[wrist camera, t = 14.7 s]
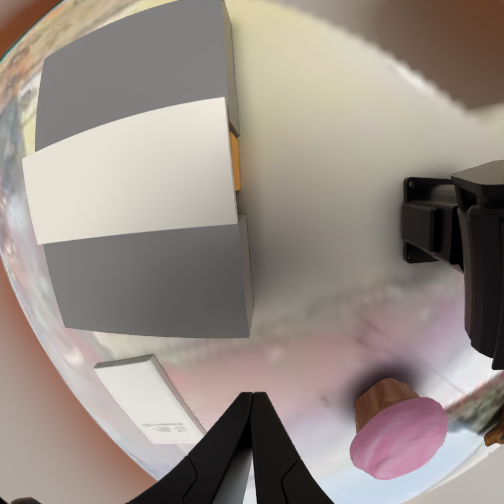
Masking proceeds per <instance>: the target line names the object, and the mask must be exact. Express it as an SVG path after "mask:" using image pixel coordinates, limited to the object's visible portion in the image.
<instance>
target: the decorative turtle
mask: <svg viewBox="0 0 504 504" xmlns="http://www.w3.org/2000/svg"><path fill="white" fill-rule="evenodd" d="M484 441H485V445H486V446H487V447H488V446H490V445H492V444H494V443H500V444H504V405H503V407H502V419H501V421H500V422H499V423H498V424H497V425H496V426H495V427H494V428H492V429H491V430H490V431H489V432H488V433H486V434H485V436H484Z"/></svg>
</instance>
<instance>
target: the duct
mask: <svg viewBox="0 0 504 504" xmlns="http://www.w3.org/2000/svg"><path fill="white" fill-rule="evenodd" d="M220 97H225V98H226V103H227V114H228V124H229V132H232V133H233V135H234V136H240V133H239V120H238V108H237V95H236V82H235V69H234V56H233V43H232V30H231V22H230V18H229V15H228V11H227V8H226V5H225V1H224V0H178V1H174V2H170V3H166V4H163V5H160V6H156V7H153V8H150V9H147V10H144V11H141V12H138V13H135V14H133V15H130V16H127V17H125V18H122V19H120V20H117V21H115V22H113V23H110V24H108V25H106V26H103V27H101V28H99V29H97V30H95V31H93V32H91V33H89V34H87V35H85V36H83V37H81V38H79V39H77V40H75V41H74V42H72V43H70V44H68V45H66V46H65V47H63V48H61V49H60V50H58V51H56V52H55V53H53V54H51V55H50V56H48V57H47V58H45V60H44V64H43V70H42V75H41V82H40V88H39V96H38V105H37V116H36V133H35V152H37V151H39V150H41V149H43V148H46V147H48V146H50V145H52V144H54V143H57V142H59V141H61V140H64V139H66V138H69V137H71V136H74V135H76V134H79V133H81V132H84V131H87V130H90V129H92V128H95V127H98V126H101V125H104V124H107V123H110V122H113V121H116V120H120V119H123V118H126V117H130V116H133V115H137V114H141V113H144V112H148V111H152V110H156V109H161V108H165V107H170V106H174V105H179V104H184V103H189V102H195V101H201V100H207V99H213V98H220ZM237 215H238V222H237V224H230V225H217V226H204V227H192V228H181V229H170V230H159V231H149V232H139V233H129V234H120V235H111V236H102V237H94V238H85V239H77V240H69V241H61V242H54V243H47V244H43V245H44V250H45V255H46V260H47V265H48V269H49V274H50V278H51V282H52V286H53V289H54V293H55V297H56V300H57V303H58V307H59V310H60V313H61V316H62V319H63V322H64V325H65V327H66V328H73V329H80V330H88V331H97V332H106V333H117V334H128V335H142V336H158V337H183V338H249V334H250V328H251V321H252V315H253V308H254V303H253V292H252V280H251V268H250V256H249V244H248V232H247V219H246V214H237Z"/></svg>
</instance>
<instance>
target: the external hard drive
mask: <svg viewBox="0 0 504 504" xmlns="http://www.w3.org/2000/svg"><path fill="white" fill-rule="evenodd" d="M93 369H94V370H95V372H96V373H97V375H98V376H99V378H100V379H101V381H102V382H103V384H104V385H105V386H106V388H107V389H108V390H109V392H110V393H111V395H112V396H113V397H114V399H115V400H116V401H117V402H118V404H119V405H120V406H121V408H122V409H123V410H124V411H125V413H126V414H127V415H128V416H129V417H130V419H131V420H132V421H133V422H134V423H135V424H136V426H137V427H138V428H139V429H140V430H141V431H142V432H143V433H144V435H145V436H146V437H147V438H148V439H149V440H150V441H151V442H152V443H154V444H192V443H198V442H199V441H200V440H201V439H202V438H203V437H204V436H205V434H206V433H207V432H206V431H205V429H204V428H203V427H202V425H201V424H200V423H199V421H198V420H197V419H196V417H195V416H194V415H193V413H192V412H191V410H190V409H189V408H188V406H187V405H186V403H185V402H184V400H183V399H182V398H181V396H180V395H179V393H178V392H177V390H176V389H175V387H174V386H173V384H172V383H171V381H170V380H169V378H168V376H167V375H166V373H165V372H164V370H163V368H162V367H161V365H160V364H159V362H158V360H157V359H156V357H155V355H154V354H153V355H147V356H142V357H136V358H130V359H124V360H118V361H111V362H104V363H97V364H96V365H95V367H94V368H93Z"/></svg>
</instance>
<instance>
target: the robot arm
mask: <svg viewBox="0 0 504 504" xmlns="http://www.w3.org/2000/svg"><path fill="white" fill-rule="evenodd" d="M450 176H451V180H449V179H435V178H417V177H408V178H406V179H405V181H404V201H405V204H404V205H403V236H402V237H403V239H404V252H403V259H404V261H406V262H407V263H409V264H412V263H423V262H433V261H441V262H443V263H445V264H447V265H449V266H450V267H452V268H454V269H456V270H458V271H459V272H461V273H463V274H464V284H465V316H464V321H465V330H466V332H467V334H468V336H469V338H470V340H471V346H472V347H473V348H474V349H476V350H477V351H478V352H479V353H481V354H483V355H485V356H487V357H490V358H493V362H492V369H493V370H504V160H499V161H492V162H489V163H486V164H483V165H480V166H477V167H473V168H470V169H467V170H464V171H461V172H458V173H455V174H452V175H450ZM410 181H411V182H412V186H411V187H410V186H409V182H410ZM410 254H411V258H410V259H408V256H409V255H410ZM252 456H253V465H254V476H255V487H256V498H257V504H334V503H333V501H332V500H331V499H330V498H329V497H328V496H327V495H326V494H325V492H324V491H323V490H322V489H321V488H320V486H319V485H318V484H317V482H316V481H315V480H314V479H313V477H312V476H311V474H310V472H309V471H308V469H307V468H306V466H305V464H304V462H303V461H302V459H301V457H300V456H299V454H298V452H297V450H296V448H295V446H294V445H293V443H292V441H291V439H290V437H289V435H288V434H287V432H286V430H285V428H284V426H283V424H282V422H281V420H280V418H279V417H278V415H277V413H276V411H275V409H274V407H273V405H272V403H271V401H270V399H269V397H268V395H267V393H266V392H254V394H253V392H241V393H240V394H239V395H238V397H237V398H236V399H235V400H234V402H233V403H232V404H231V405H230V406H229V408H228V409H227V410H226V411H225V412H224V414H223V415H222V416H221V417H220V418H219V420H218V421H217V422H216V423H215V424H214V425H213V426H212V428H211V429H210V430H209V431H208V432H207V433H206V434H205V436H204V437H203V438H202V439H201V440H200V441H199V442H198V443H197V445H196V446H195V447H194V448H193V449H192V450H191V451H190V452H189V453H188V456H185V457H184V458H183V459H182V461H181V462H180V463H179V464H178V465H177V466H176V467H174V468H173V469H172V470H171V471H170V472H169V473H168V474H167V475H165V476H164V477H163V478H162V479H160V480H159V481H158V482H157V483H155V484H154V485H153V486H151V487H150V488H148V489H147V490H146V491H144V492H143V493H141V494H140V495H139V496H137V497H135V498H134V499H132V500H131V501H129V502H127V503H125V504H243V499H244V494H245V490H246V485H247V481H248V476H249V471H250V466H251V461H252ZM0 504H8V503H7V502H6V501H5V500H3V499H2V498H1V497H0ZM11 504H41V503H40V502H38V501H37V500H35V499H33V498H32V497H27V498H19V499H15V500H13V501H12V502H11Z"/></svg>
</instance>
